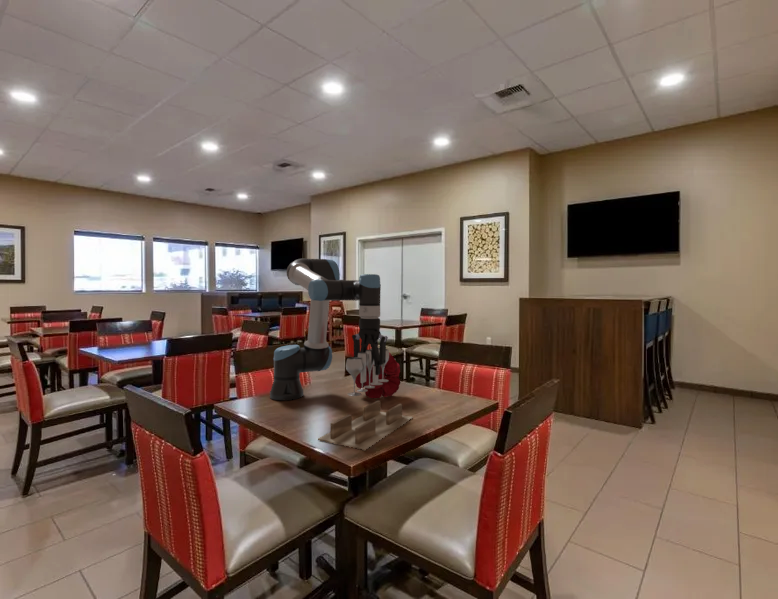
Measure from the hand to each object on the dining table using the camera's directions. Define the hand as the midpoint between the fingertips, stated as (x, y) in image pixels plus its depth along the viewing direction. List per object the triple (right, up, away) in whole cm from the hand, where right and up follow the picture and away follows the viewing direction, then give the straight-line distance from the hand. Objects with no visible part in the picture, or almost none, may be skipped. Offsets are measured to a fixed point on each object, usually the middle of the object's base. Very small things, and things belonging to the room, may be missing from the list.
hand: (369, 382), depth 145 cm
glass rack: (0, -16, 0) cm, 16 cm away
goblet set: (0, -2, 0) cm, 2 cm away
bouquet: (+2, -16, +46) cm, 48 cm away
